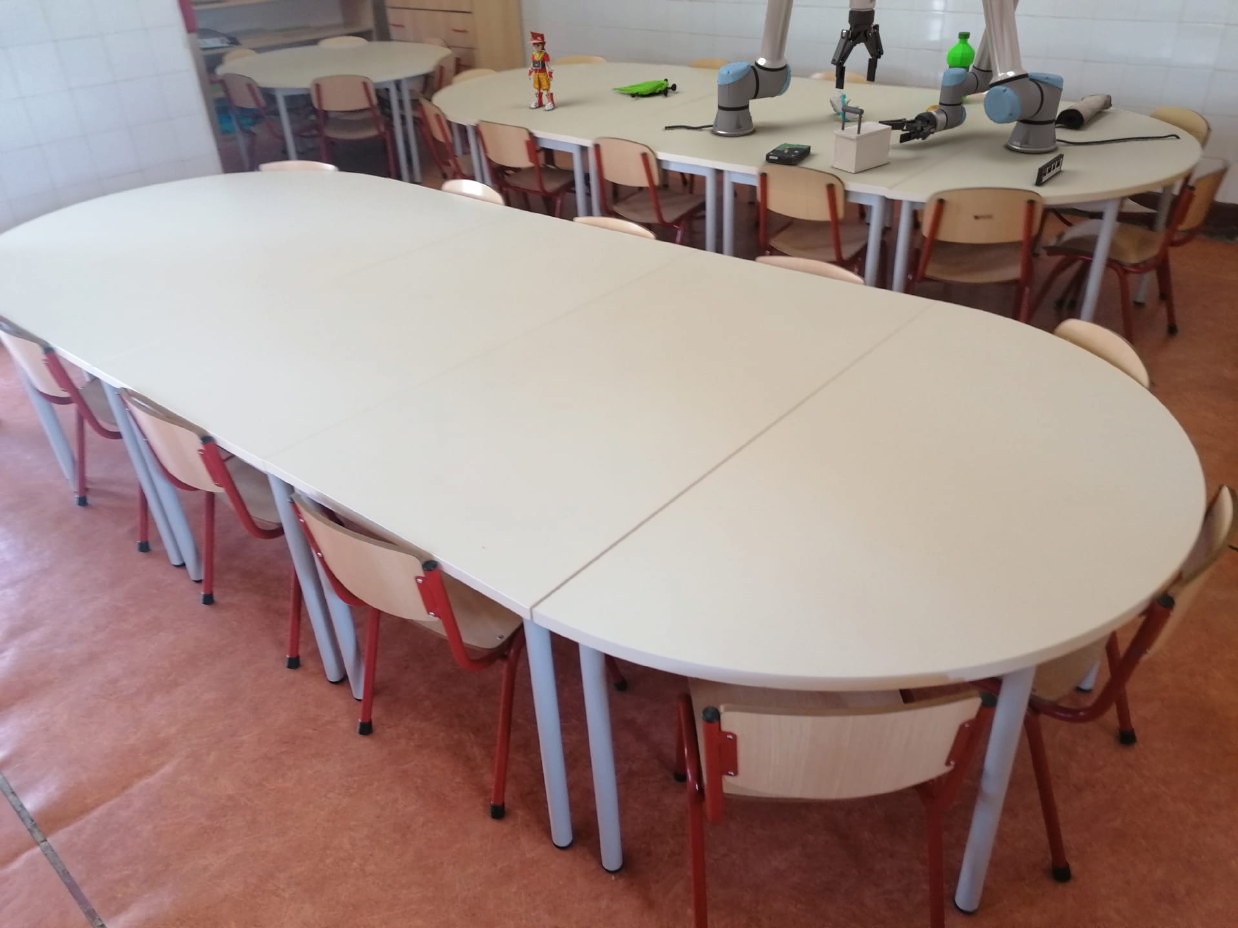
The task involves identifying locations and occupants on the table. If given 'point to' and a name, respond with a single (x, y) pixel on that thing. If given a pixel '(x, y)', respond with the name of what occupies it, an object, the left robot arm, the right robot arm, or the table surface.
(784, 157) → the disk drive
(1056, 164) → the midi keyboard
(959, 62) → the plastic bottle
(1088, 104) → the rolled mat
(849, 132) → the lid
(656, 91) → the toy
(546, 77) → the toy
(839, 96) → the anatomical model
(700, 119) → the table surface
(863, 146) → the chest
